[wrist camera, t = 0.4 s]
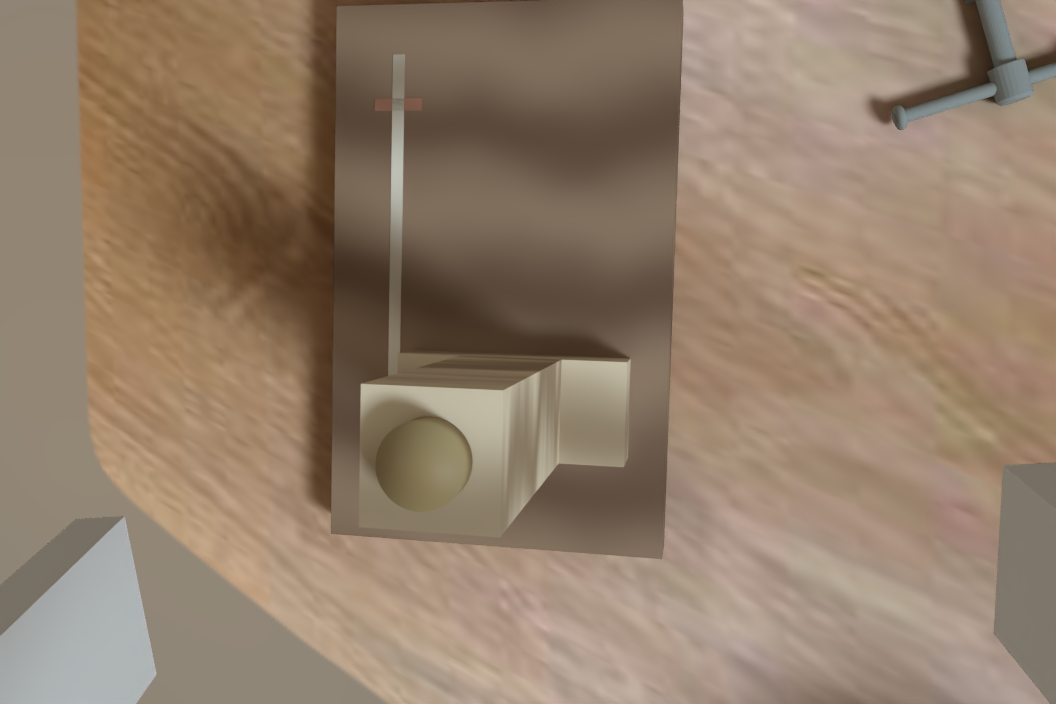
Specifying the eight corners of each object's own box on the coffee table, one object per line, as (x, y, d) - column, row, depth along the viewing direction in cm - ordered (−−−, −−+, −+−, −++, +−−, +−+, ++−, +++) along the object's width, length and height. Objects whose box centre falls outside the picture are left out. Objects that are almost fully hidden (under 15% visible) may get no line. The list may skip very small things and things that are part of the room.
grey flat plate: (354, 19, 41) (336, 5, 39) (683, 11, 38) (682, -4, 36) (348, 522, 42) (330, 534, 40) (663, 545, 40) (661, 559, 38)
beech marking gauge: (412, 349, 39) (259, 383, 26) (630, 358, 38) (592, 398, 24) (411, 445, 40) (258, 530, 26) (627, 457, 38) (587, 554, 24)
